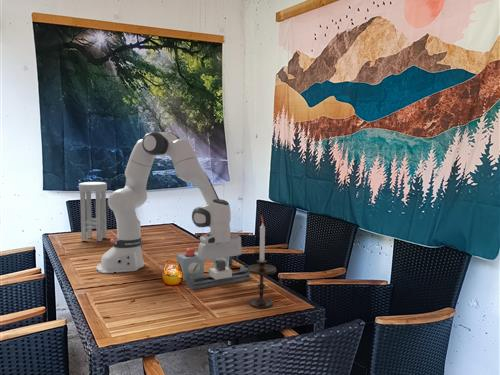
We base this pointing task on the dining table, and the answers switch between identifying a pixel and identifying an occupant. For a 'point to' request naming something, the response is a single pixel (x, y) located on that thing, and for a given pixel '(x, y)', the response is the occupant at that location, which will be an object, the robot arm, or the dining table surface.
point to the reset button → (190, 252)
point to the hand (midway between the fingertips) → (220, 267)
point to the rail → (210, 282)
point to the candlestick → (261, 273)
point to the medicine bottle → (228, 261)
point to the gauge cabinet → (191, 265)
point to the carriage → (220, 270)
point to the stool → (100, 212)
